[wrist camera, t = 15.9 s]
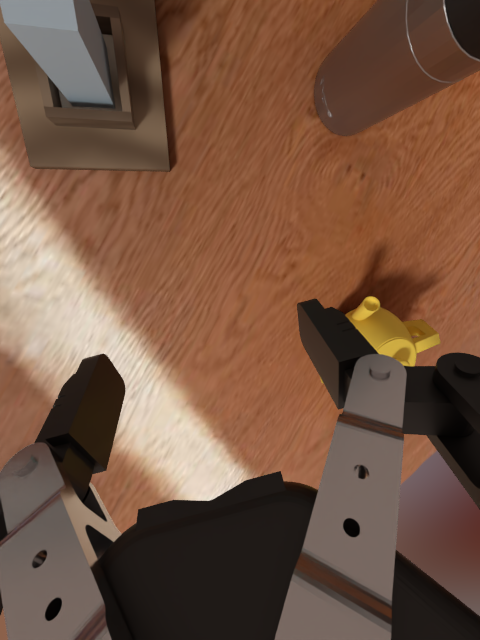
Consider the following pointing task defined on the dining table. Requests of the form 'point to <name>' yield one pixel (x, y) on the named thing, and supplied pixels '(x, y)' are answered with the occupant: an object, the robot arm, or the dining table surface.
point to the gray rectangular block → (64, 46)
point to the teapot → (392, 332)
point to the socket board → (90, 122)
